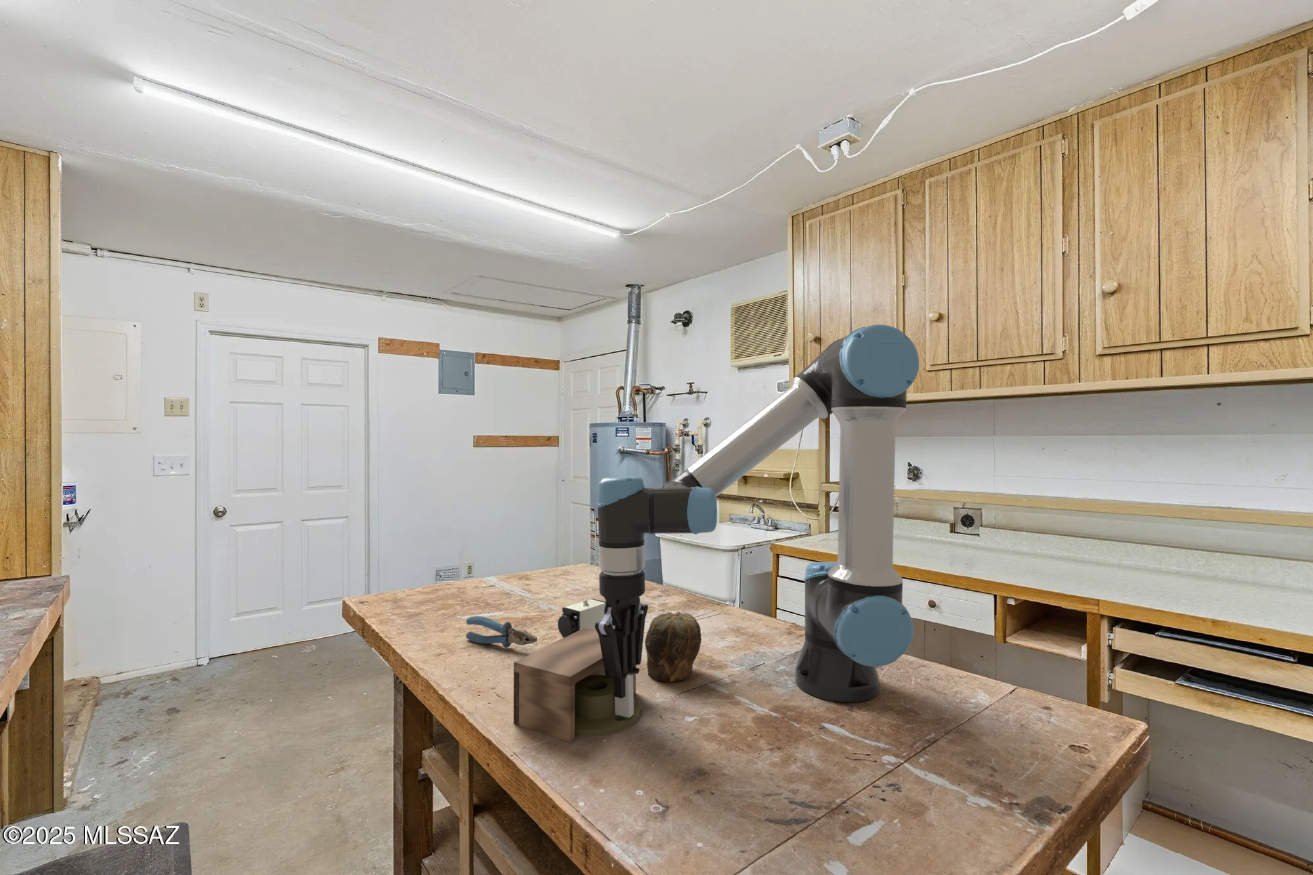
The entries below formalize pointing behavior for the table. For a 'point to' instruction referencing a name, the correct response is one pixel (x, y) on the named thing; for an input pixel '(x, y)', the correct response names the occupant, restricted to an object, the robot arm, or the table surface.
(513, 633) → the pliers
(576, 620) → the pneumatic valve
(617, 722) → the flange
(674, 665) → the green ball cactus
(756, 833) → the table surface
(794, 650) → the table surface
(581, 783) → the table surface
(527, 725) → the shelf
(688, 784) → the table surface
